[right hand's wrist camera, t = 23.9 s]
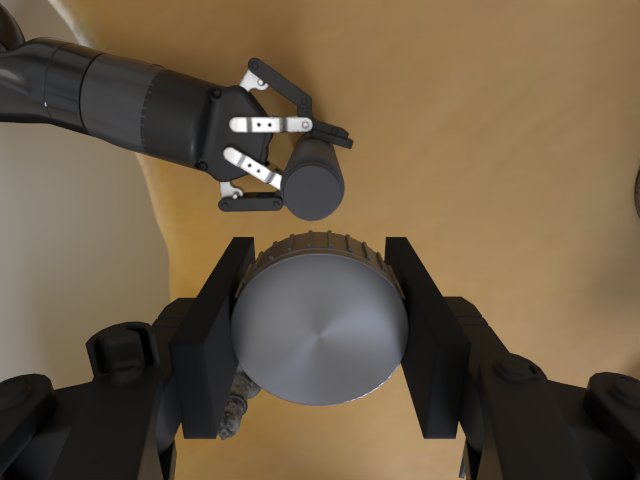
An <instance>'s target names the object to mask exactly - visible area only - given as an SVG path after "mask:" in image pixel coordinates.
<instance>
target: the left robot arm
mask: <svg viewBox="0 0 640 480" xmlns="http://www.w3.org/2000/svg"><path fill="white" fill-rule="evenodd" d="M270 86H271V87H272V88H273V89H275V90H276V91H278V92H279V93H280V94H282V95H283V96H285V97H286V98H287V99H289V100H290V101H292V102H293V103H294V104H296V105H297V108H298V116H268V114H267V113H266V112H265V110H264V109H263V108H262V107H261V105H260V104H259V103H258V101H257V100H256V99H255V98H254V96H253V95H252V94H251V90H252V89H255V88H257V89H259V90H267V89H268V88H269V87H270ZM0 122H14V123H46V124H52V125H55V126H59V127H62V128H65V129H69V130H72V131H76V132H79V133H83V134H86V135H89V136H93V137H96V138H99V139H102V140H104V141H107V142H109V143H111V144H113V145H116V146H118V147H121V148H124V149H128V150H131V151H134V152H138V153H141V154H145V155H148V156H152V157H155V158H159V159H162V160H166V161H169V162H172V163H176V164H179V165H183V166H186V167H190V168H193V169H197V170H200V171H204V172H206V173H208V174H210V175H211V176H212V177H213V178H214V179H215V180H217V181H219V183H220V191H221V200H220V201H219V203H218V206H219V208H220V210H222V211H224V212H231V211H277V210H280V209H281V208H282V207H283V205H284V202H283V200H282V197H281V193H280V181H281V177H282V175H283V173H284V171H283V170H281V169H280V168H278V166H277V165H275V164H274V163H272V162H271V161H269V160H267V158H268V145H269V143H270V141H271V139H272V137H273V134H274V132H305V133H308V134H311V137H312V138H316V139H319V140H322V141H325V142H329V143H332V144H335V145H338V146H342V147H345V148H348V149H351V148H352V145H353V140H352V139H349V138H348V135H349V133H348V132H347V131H346V130H344V129H343V128H340V127H337V126H334V125H330V124H327V123H324V122H321V121H318V120H316V119H315V118H314V117H313V114H312V99H311V97H310V96H309V95H308V94H306V93H305V92H304V91H302V90H301V89H300V88H298V87H297V86H295V85H294V84H293V83H291V82H290V81H289V80H287V79H286V78H285V77H283V76H282V75H280V74H279V73H278V72H276V71H275V70H274V69H272V68H271V67H269V66H268V65H267V64H265V63H264V62H263V61H261V60H259V59H258V58H252V59H250V61H249V62H248V71H247V72H246V74H245V76H244V78H243V79H242V81H241V83H240V85H239V86H238V85H234V86H230V87H223V86H219V85H216V84H213V83H210V82H206V81H203V80H200V79H197V78H194V77H191V76H187V75H184V74H181V73H178V72H175V71H171V70H168V69H165V68H164V67H162V66H159V65H156V64H149V63H146V62H143V61H139V60H136V59H131V58H125V57H119V56H114V55H110V54H107V53H104V52H100V51H97V50H94V49H91V48H88V47H84V46H81V45H78V44H74V43H71V42H68V41H64V40H61V39H56V38H51V37H40V38H36V39H32V40H30V41H27V42H26V41H25V39H24V36H23V34H22V31H21V29H20V27H19V26H18V24H17V22H16V21H15V19H14V18H13V17H12V16H11V15H10V13H9V12H8V11H7V10H6V9H5V8H4V7H3V6H2V5H1V4H0ZM258 170H260V171H258ZM248 174H251V175H253V176H255V177H256V178H258V179H260V180H261V181H263V182H265V183H268V184H270V185H272V186H274V187H275V188H277V189H278V190H277V191H276V192H245V191H244V189H243V188H242V187H240V186H236V185H234V184H233V183H232V180H234V179H237V178H240V177H243V176H246V175H248Z"/></svg>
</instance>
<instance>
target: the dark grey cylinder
mask: <svg viewBox="0 0 640 480" xmlns="http://www.w3.org/2000/svg"><path fill="white" fill-rule="evenodd" d="M344 188H345V186H344V180H343V176H342V173H341V170H340V167H339V163H338V160H337V157H336V154H335V150H334V147H333V144H332V143H329V142H325V141H322V140H319V139H316V138H312V137H311V134H308V133H306V134H304V135H303V136H302V137H301V138H300V139H299V141H298V142H297V145H296V147H295V149H294V151H293V153H292V155H291V157H290V160H289V162H288V164H287V166H286V168H285V170H284V173H283V175H282V177H281V181H280V193H281V197H282V200H283V202H284V205H285V206H287V208H288V209H289V210H290V211H291V212H292V213H293V214H294V215H295V216H297V217H298V218H301V219H303V220H307V221H317V220H321V219H324V218H326V217H327V216H329V215H330V214H332V213H333V211H335V210H336V208H337V207H338V206H339V205H340V203H341V201H342V199H343V196H344Z"/></svg>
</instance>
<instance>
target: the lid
mask: <svg viewBox="0 0 640 480" xmlns="http://www.w3.org/2000/svg"><path fill="white" fill-rule="evenodd" d="M234 300H236V302H235V304H234V306H233V310H232V314H231V318H230V331H231V341H232V348H233V351H234V354H235V357H236V359H237V360H238V362H239V364H240V366H241V367H242V369H243V370H244V371H245V373H246V374H247V375H248V376H249V377H250V378H251V379H252V380H253V381H254V382H255V383H256V384H257V385H259V386H260V387H261V388H262V389H264V390H266V391H267V392H269V393H270V394H272V395H274V396H277V397H279V398H281V399H284V400H287V401H289V402H293V403H297V404H303V405H310V406H328V405H336V404H342V403H346V402H349V401H353V400H355V399H358V398H360V397H363V396H365V395H367V394H369V393H370V392H372V391H374V390H375V389H377V388H378V387H379V386H381V385H382V384H383V383H384V382H385V381H386V380H388V379H389V377H390V376H391V375H392V374H393V373H394V372H395V370H396V369H397V367H398V366H399V364H400V363H401V361H402V359H403V357H404V355H405V352H406V349H407V345H408V338H409V325H410V324H409V317H408V313H407V309H406V306H405V303H404V300H406V299H405V296H404V294H403V291H402V289H401V287H400V284H399V282H398V280H397V279H396V277H395V275H394V272H393V270H392V268H391V266H390V264H389V265H386V263H385V262H384V261H383V259H382V257H381V254H380V253H379V252H377V253H376V252H374V251H373V250H372V249H371V248H369V247H368V246H367V244H366V242H364V241H363V242H362V243H361V242H360V241H357V240H355V239H353V238H351V237H350V235H348V234H346V236H344V235H341V234H335V233H331V231H329V230H328V232H312V230H310V231H309V233H304V234H299V235H295V236H294V234H291V235H290V237H289V238H286V239H284V240H282V241H280V242H277V241H275V242H274V243H273V246H271V247H270V248H268V249H267V250H266V251H265V252H264V253H263V252H262V251H261V252H260V253H259V255H258V258H257V260H256V261H255V262H254V263H253V265H251V264H250V265H249V266H248V269H247V271H246V273H245V276H244V278H242V280H241V282H240V285H239V287H238V289H237V292H236V294H235V296H234Z"/></svg>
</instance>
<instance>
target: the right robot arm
mask: <svg viewBox="0 0 640 480" xmlns="http://www.w3.org/2000/svg"><path fill="white" fill-rule="evenodd" d="M635 203H636V209H637V212H638V215H639V217H640V174H639V177H638V180H637V185H636V192H635ZM254 262H255V248H254V237H234V238H233V239H232V241H231V242H230V244H229V246H228V247H227V249H226V250H225V252H224V254H223V255H222V257H221V259H220V260H219V262H218V263H217V265H216V267H215V268H214V270H213V271H212V273H211V275H210V276H209V278H208V279H207V281H206V283H205V284H204V286H203V288H202V289H201V291H200V292H199V294H198V296H197V297H196V298H178V299H176V300H175V301H173V302H172V303H170V304H169V305H167V306H166V307H165V308H164V310H163V311H162V312H161V314H160V315H159V316H158V319H156V320H155V322H154V323H153V324H152V326H151V325H149V324H148V323H143V322H125V323H120V324H116V325H113V326H110V327H108V328H105V329H103V330H101V331H99V332H98V333H96V334H95V335H93V336H92V337H91V338H90V339H89V340H88V341H87V343H86V348H87V352H88V355H89V359H90V363H91V367H92V371H93V375H94V378H93V380H92V381H91V382H88V383H84V384H80V385H75V386H71V387H66V388H61V389H57V390H54V389H53V386H52V383H51V380H50V379H49V378H48V377H46V376H45V375H40V374H28V375H20V376H17V377H14V378H10V379H7V380H4V381H3V382H1V383H0V480H174V474H175V465H176V456H177V452H176V445H175V440H174V437H175V435H176V432H177V430H178V428H179V425H180V423H182V429H183V435H184V439H216V436H217V433H218V430H219V426H220V423H221V420H222V417H223V413H224V410H225V407H226V404H227V400H228V397H229V394H230V390H231V387H232V384H233V381H234V377H235V374H236V371H237V368H238V364H239V362H238V360H237V359H236V357H235V354H234V351H233V348H232V341H231V331H230V318H231V314H232V310H233V306H234V304H235V302H236V300H234V296H235V294H236V292H237V289H238V287H239V285H240V282H241V280H242V278H244V276H245V273H246V271H247V269H248V266H249V265H250V264H251V265H253V263H254ZM384 262H385V263H386V265H389V264H390V266H391V268H392V270H393V272H394V275H395V277H396V279H397V280H398V282H399V284H400V287H401V289H402V291H403V294H404V296H405V299H406V300H404V303H405V306H406V309H407V313H408V317H409V324H410V325H409V338H408V345H407V349H406V352H405V355H404V357H403V359H402V361H401V365H402V368H403V372H404V375H405V378H406V381H407V385H408V388H409V391H410V394H411V398H412V401H413V404H414V408H415V411H416V414H417V417H418V421H419V424H420V427H421V431H422V434H423V437H424V439H456V433H457V427H458V422H460V424H461V426H462V429H463V431H464V433H465V436H466V440H465V445H464V451H463V456H462V461H461V467H460V473H459V477H460V478H464V476H465V473H466V480H640V381H639V380H637V379H635V378H633V377H630V376H626V375H623V374H618V373H610V372H602V373H595V374H594V375H593V376H592V377H590V379H589V382H588V385H587V388H582V387H577V386H572V385H568V384H563V383H558V382H554V381H551V380H548V379H547V377H546V375H545V374H544V373H543V371H542V370H541V368H540V367H538V366H537V365H536V364H534V363H533V362H532V361H530V360H528V359H526V358H524V357H522V356H519V355H516V354H512V353H509V351H508V350H507V349H506V347H505V346H504V344H503V343H502V342H501V340H500V339H499V338H498V336H497V335H496V334H495V332H494V331H493V330H492V328H491V327H490V326H488V323H487V322H486V320H485V319H484V318H482V315H481V314H480V312H479V311H478V310H477V308H476V307H475V306H474V305H473V304H472V303H470V302H468V301H467V300H465V299H464V298H462V297H443V296H442V294H441V293H440V291H439V290H438V288H437V286H436V285H435V283H434V282H433V280H432V278H431V277H430V275H429V273H428V272H427V270H426V269H425V267H424V265H423V264H422V262H421V261H420V259H419V257H418V256H417V254H416V252H415V251H414V249H413V248H412V246H411V244H410V243H409V241H408V240H407V238H406V237H386V244H385V260H384Z"/></svg>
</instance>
